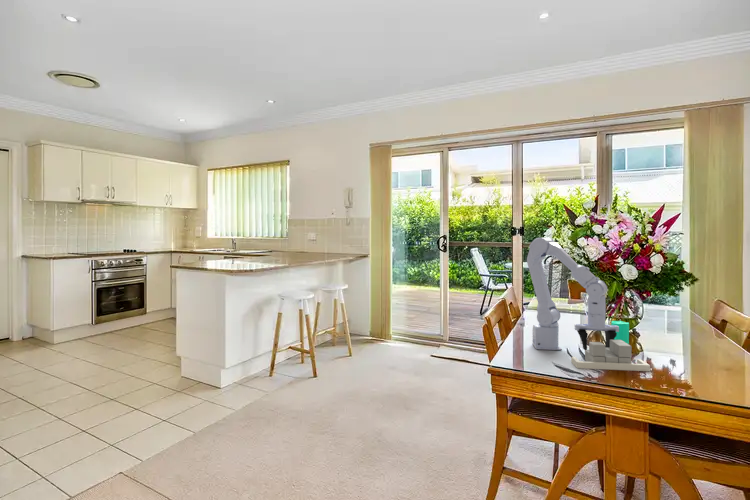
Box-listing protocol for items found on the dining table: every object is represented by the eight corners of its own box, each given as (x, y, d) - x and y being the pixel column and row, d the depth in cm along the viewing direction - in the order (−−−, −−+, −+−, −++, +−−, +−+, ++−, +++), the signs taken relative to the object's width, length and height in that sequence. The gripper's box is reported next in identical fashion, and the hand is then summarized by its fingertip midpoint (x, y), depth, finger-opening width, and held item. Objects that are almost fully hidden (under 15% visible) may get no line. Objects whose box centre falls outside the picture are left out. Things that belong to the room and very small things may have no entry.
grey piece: (577, 368, 135) (577, 362, 135) (571, 362, 141) (571, 356, 141) (649, 371, 131) (650, 365, 131) (640, 365, 137) (640, 359, 137)
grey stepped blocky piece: (616, 358, 145) (616, 336, 145) (631, 369, 133) (631, 346, 133) (581, 356, 147) (581, 335, 147) (592, 367, 135) (593, 344, 135)
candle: (631, 351, 153) (632, 320, 152) (614, 350, 154) (614, 319, 154) (625, 346, 159) (625, 316, 158) (608, 346, 160) (608, 316, 159)
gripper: (614, 312, 150) (613, 347, 150) (572, 310, 152) (572, 345, 153) (621, 315, 143) (621, 353, 143) (577, 314, 146) (577, 351, 146)
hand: (596, 349), depth 148 cm, fingers open, 7 cm apart
